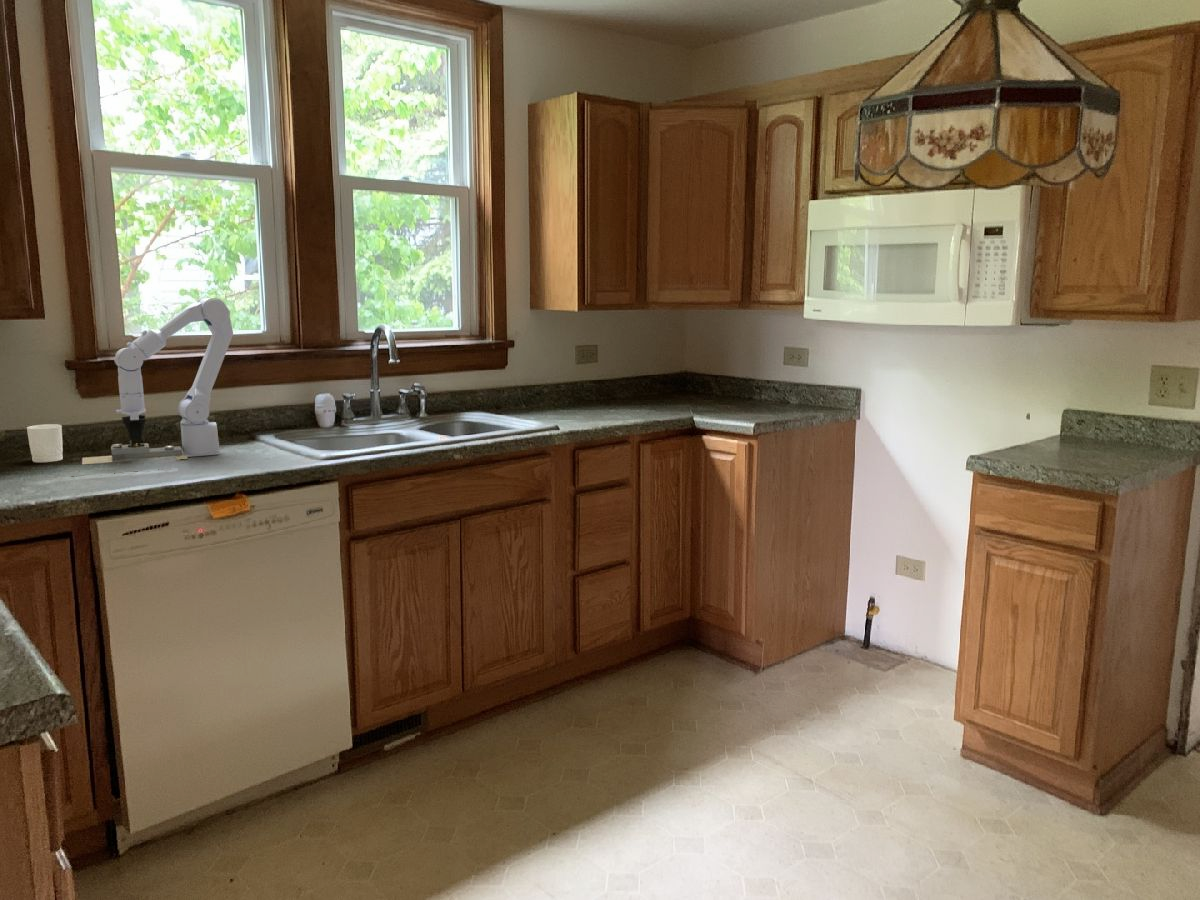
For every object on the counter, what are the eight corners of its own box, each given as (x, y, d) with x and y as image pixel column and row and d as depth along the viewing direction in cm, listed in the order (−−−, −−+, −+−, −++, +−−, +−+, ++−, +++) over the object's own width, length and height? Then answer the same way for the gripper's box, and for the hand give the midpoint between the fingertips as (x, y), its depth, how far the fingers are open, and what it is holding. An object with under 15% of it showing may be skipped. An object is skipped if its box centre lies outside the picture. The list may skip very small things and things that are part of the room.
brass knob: (142, 446, 247) (140, 422, 246) (142, 448, 244) (141, 423, 243) (129, 447, 245) (127, 422, 244) (129, 448, 242) (127, 424, 241)
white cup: (27, 463, 241) (23, 426, 239) (60, 459, 246) (56, 423, 244) (35, 467, 235) (31, 429, 233) (69, 463, 240) (65, 426, 239)
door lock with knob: (184, 453, 255) (183, 437, 254) (187, 459, 247) (186, 442, 246) (82, 461, 243) (81, 444, 243) (82, 468, 235) (80, 450, 234)
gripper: (114, 391, 246) (118, 440, 249) (115, 396, 234) (120, 448, 236) (143, 389, 250) (147, 438, 252) (145, 395, 237) (150, 446, 240)
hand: (136, 443), depth 244 cm, fingers closed on brass knob, 3 cm apart
